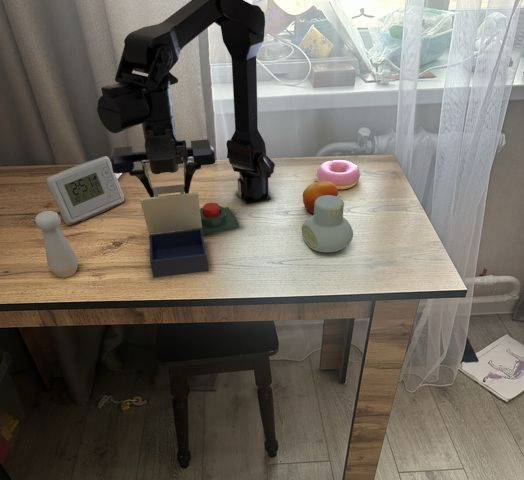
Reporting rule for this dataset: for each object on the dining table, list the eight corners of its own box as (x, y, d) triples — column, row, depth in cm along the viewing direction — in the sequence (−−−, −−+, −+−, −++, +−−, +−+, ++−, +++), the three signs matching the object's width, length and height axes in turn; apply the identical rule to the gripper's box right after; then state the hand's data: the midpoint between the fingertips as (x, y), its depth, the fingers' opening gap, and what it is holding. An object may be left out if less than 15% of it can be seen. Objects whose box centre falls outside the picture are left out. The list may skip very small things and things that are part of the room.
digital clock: (65, 229, 115) (51, 186, 107) (52, 211, 120) (38, 168, 112) (131, 208, 121) (123, 166, 113) (116, 192, 126) (107, 151, 118)
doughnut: (320, 170, 133) (321, 154, 130) (362, 174, 130) (364, 158, 128) (311, 189, 125) (312, 173, 122) (356, 194, 123) (358, 178, 120)
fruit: (319, 219, 112) (310, 183, 110) (302, 222, 119) (294, 188, 117) (349, 210, 115) (341, 174, 112) (331, 213, 122) (323, 180, 120)
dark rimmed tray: (208, 271, 102) (206, 254, 99) (153, 278, 100) (150, 261, 98) (204, 244, 109) (202, 228, 106) (152, 250, 108) (149, 234, 105)
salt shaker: (55, 264, 105) (33, 207, 96) (82, 262, 105) (64, 205, 96) (49, 281, 101) (26, 223, 91) (78, 279, 101) (58, 221, 92)
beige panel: (198, 194, 96) (195, 177, 98) (139, 200, 95) (138, 183, 96) (201, 228, 106) (199, 212, 107) (149, 234, 104) (147, 218, 106)
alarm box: (228, 211, 119) (227, 199, 117) (239, 228, 113) (238, 216, 111) (187, 219, 116) (185, 208, 114) (196, 237, 111) (194, 225, 109)
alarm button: (217, 208, 115) (216, 201, 113) (222, 215, 112) (221, 208, 111) (202, 211, 114) (201, 204, 113) (206, 218, 111) (205, 211, 110)
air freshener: (297, 237, 110) (298, 194, 103) (330, 227, 112) (333, 185, 105) (321, 262, 103) (324, 219, 96) (356, 252, 105) (361, 209, 98)
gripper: (100, 136, 82) (121, 223, 93) (214, 126, 84) (222, 212, 95) (104, 115, 90) (122, 197, 101) (207, 106, 93) (215, 187, 103)
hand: (170, 199), depth 100 cm, fingers closed on beige panel, 6 cm apart
